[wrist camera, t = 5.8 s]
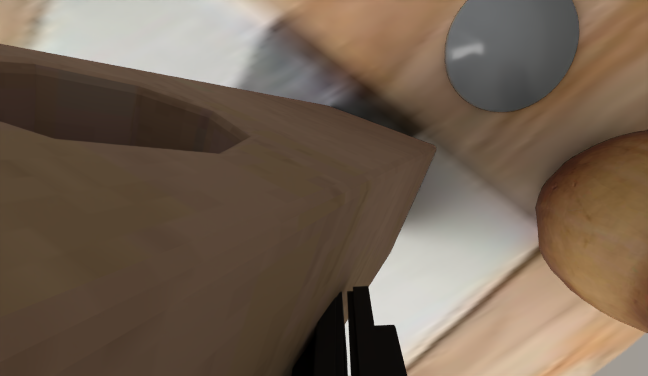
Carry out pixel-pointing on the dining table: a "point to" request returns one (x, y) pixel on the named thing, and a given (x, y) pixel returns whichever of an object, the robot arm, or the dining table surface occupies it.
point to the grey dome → (510, 51)
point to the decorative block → (181, 219)
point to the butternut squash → (601, 227)
